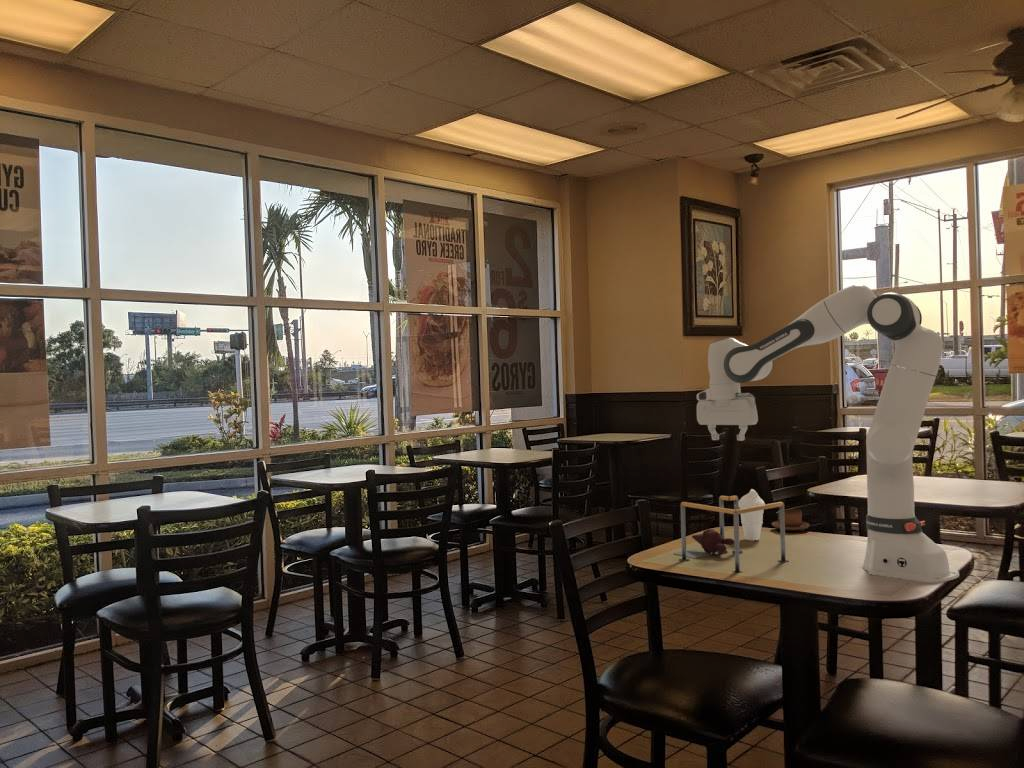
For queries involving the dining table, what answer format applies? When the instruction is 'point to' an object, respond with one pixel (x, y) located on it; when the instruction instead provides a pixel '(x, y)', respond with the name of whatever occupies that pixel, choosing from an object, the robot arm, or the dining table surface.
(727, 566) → the dining table surface
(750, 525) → the soft serve ice cream cone
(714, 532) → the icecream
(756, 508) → the wire frame
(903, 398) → the robot arm
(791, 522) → the cup and saucer
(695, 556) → the mat
